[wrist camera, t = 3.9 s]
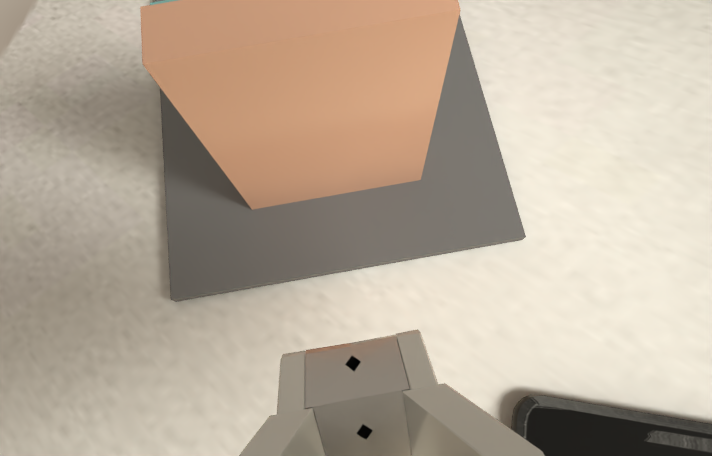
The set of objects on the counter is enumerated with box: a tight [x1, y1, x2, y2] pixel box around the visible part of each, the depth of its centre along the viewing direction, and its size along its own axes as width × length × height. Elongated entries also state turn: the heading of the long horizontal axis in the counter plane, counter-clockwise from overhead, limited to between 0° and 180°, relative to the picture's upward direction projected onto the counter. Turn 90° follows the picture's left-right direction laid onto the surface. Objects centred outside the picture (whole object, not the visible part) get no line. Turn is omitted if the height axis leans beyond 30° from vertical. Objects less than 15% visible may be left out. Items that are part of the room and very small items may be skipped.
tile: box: [140, 0, 460, 210], centre depth 19 cm, size 2×9×12 cm, turn 100°
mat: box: [156, 0, 526, 302], centre depth 27 cm, size 22×18×1 cm
